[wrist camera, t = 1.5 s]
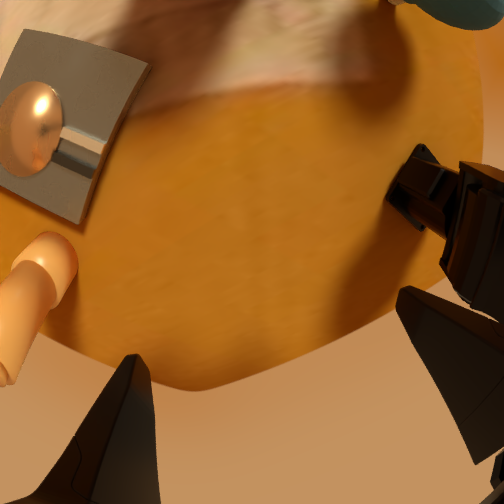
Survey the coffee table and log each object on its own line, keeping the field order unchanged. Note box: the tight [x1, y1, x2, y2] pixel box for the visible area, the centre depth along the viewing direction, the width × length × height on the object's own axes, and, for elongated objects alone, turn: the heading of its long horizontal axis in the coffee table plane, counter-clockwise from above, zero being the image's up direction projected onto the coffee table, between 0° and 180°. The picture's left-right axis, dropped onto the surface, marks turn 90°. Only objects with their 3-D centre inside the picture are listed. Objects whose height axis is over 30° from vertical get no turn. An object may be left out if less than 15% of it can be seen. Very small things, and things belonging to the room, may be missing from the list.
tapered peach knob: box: [0, 232, 78, 387], centre depth 13 cm, size 5×5×13 cm
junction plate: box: [0, 29, 152, 225], centre depth 13 cm, size 12×12×2 cm
